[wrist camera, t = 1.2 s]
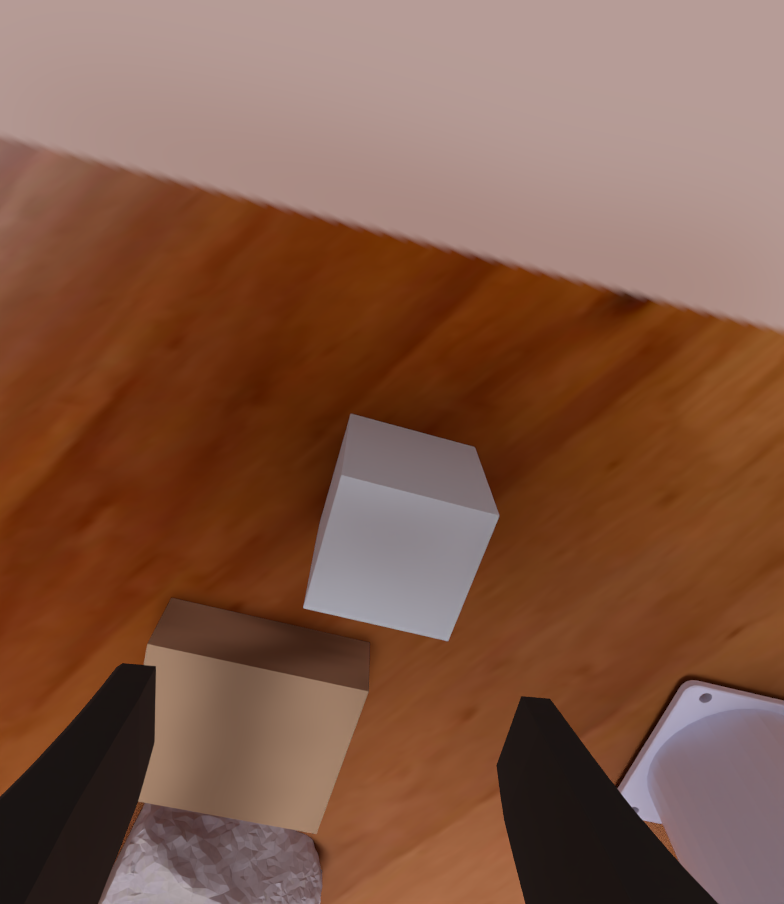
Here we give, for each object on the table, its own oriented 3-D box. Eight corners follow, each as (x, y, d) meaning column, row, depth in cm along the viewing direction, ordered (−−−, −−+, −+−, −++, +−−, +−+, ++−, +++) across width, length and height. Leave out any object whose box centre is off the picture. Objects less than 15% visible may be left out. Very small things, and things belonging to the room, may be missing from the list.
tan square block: (370, 636, 25) (368, 691, 22) (322, 770, 28) (316, 833, 25) (174, 592, 24) (147, 643, 21) (146, 736, 27) (120, 798, 24)
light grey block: (474, 446, 22) (499, 515, 17) (435, 551, 23) (448, 641, 19) (350, 412, 21) (341, 475, 16) (319, 523, 23) (303, 607, 18)
